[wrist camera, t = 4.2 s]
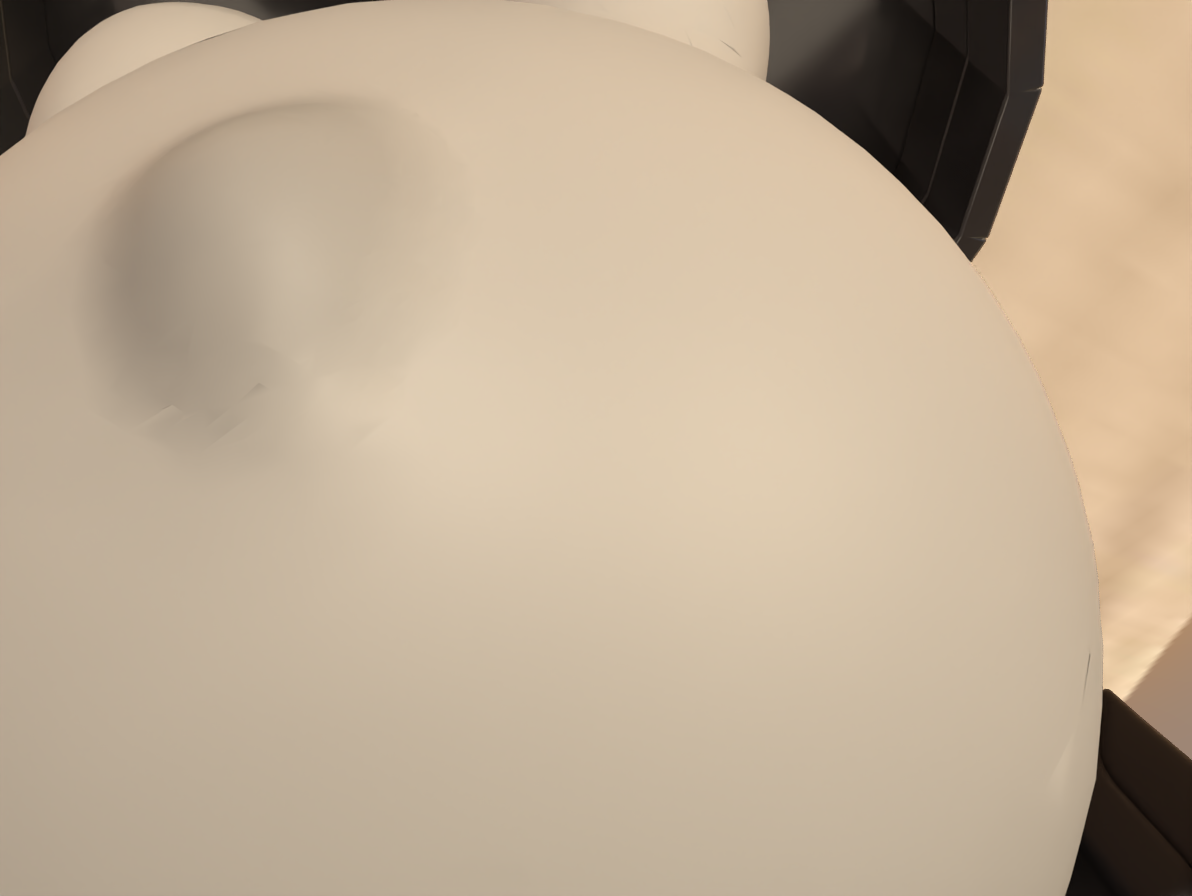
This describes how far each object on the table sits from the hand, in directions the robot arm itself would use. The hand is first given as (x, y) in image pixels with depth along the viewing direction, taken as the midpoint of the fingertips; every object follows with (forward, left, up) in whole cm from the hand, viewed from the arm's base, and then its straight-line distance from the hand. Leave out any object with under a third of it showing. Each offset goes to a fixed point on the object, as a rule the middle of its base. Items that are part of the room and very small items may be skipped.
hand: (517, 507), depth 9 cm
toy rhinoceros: (0, 0, -2) cm, 2 cm away
